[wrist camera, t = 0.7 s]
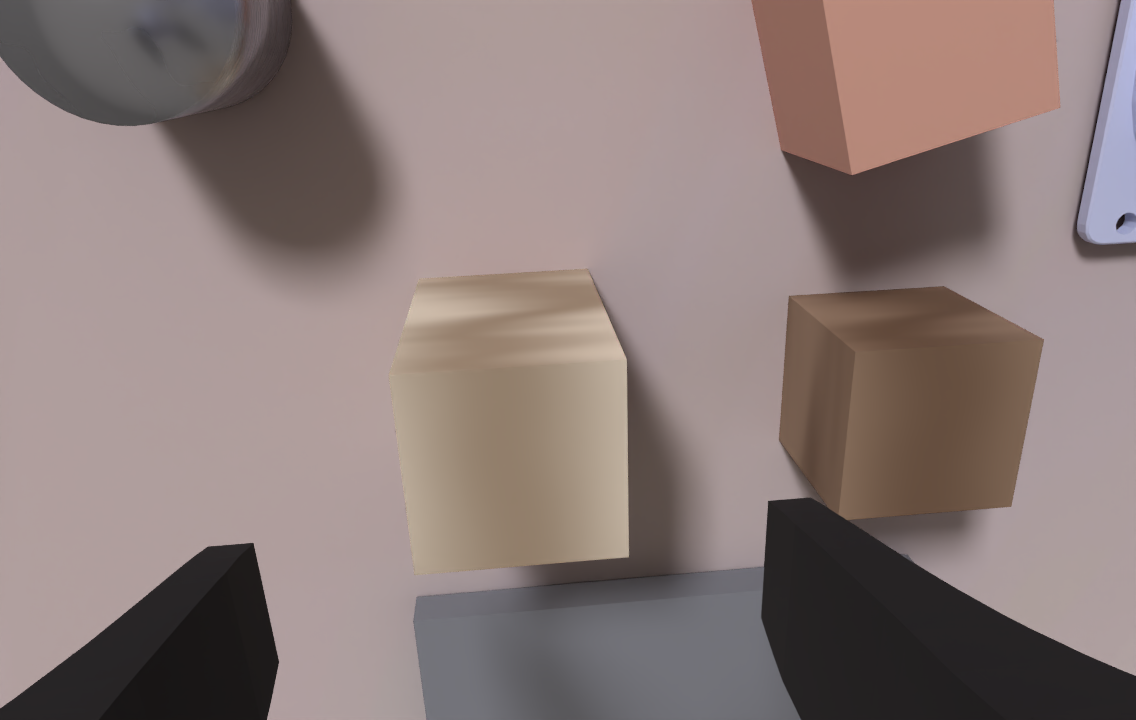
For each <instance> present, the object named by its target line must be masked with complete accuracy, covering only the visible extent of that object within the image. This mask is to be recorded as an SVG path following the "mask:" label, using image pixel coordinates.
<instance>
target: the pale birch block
mask: <svg viewBox="0 0 1136 720" xmlns="http://www.w3.org/2000/svg"><path fill="white" fill-rule="evenodd" d="M389 382H390V390H391V397H392V405H393V413H394V420H395V428H396V436H397V444H398V451H399V459H400V467H401V474H402V482H403V490H404V498H405V505H406V513H407V521H408V528H409V536H410V544H411V552H412V559H413V567H414V575H423V574H435V573H447V572H459V571H470V570H482V569H494V568H506V567H518V566H529V565H541V564H553V563H565V562H577V561H588V560H600V559H612V558H624V557H629V521H628V426H627V359H626V357H625V354H624V352H623V350H622V347H621V345H620V343H619V340H618V338H617V336H616V333H615V331H614V329H613V327H612V324H611V322H610V320H609V317H608V315H607V313H606V310H605V308H604V306H603V303H602V301H601V299H600V296H599V294H598V292H597V290H596V287H595V285H594V283H593V280H592V278H591V276H590V273H589V271H588V269H575V270H558V271H542V272H525V273H508V274H491V275H474V276H457V277H440V278H423V279H419V280H418V284H417V287H416V290H415V293H414V296H413V300H412V303H411V306H410V309H409V312H408V316H407V319H406V322H405V325H404V328H403V332H402V335H401V338H400V341H399V344H398V348H397V351H396V354H395V357H394V360H393V364H392V367H391V370H390V373H389Z"/></svg>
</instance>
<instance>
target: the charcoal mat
mask: <svg viewBox="0 0 1136 720" xmlns="http://www.w3.org/2000/svg"><path fill="white" fill-rule="evenodd" d="M902 556H903V557H905V558H907V559H908V560H910V561H911V562H913V561H912V560H911V559H910V557H909V556H908V555H902ZM913 563H914V562H913ZM763 578H764V567H758V568H746V569H734V570H723V571H711V572H700V573H688V574H677V575H665V576H654V577H642V578H630V579H619V580H607V581H596V582H584V583H573V584H561V585H550V586H538V587H527V588H515V589H503V590H492V591H480V592H469V593H457V594H446V595H434V596H423V597H417V599H416V606H415V613H414V621H413V622H414V629H415V637H416V644H417V652H418V659H419V667H420V674H421V682H422V689H423V697H424V704H425V712H426V719H427V720H801V719H800V717H799V715H798V713H797V710H796V708H795V706H794V704H793V702H792V700H791V698H790V696H789V694H788V692H787V690H786V688H785V685H784V683H783V681H782V678H781V675H780V673H779V670H778V667H777V664H776V661H775V659H774V656H773V653H772V650H771V647H770V644H769V641H768V638H767V635H766V632H765V629H764V626H763V622H762V619H761V609H762V594H763Z"/></svg>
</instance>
